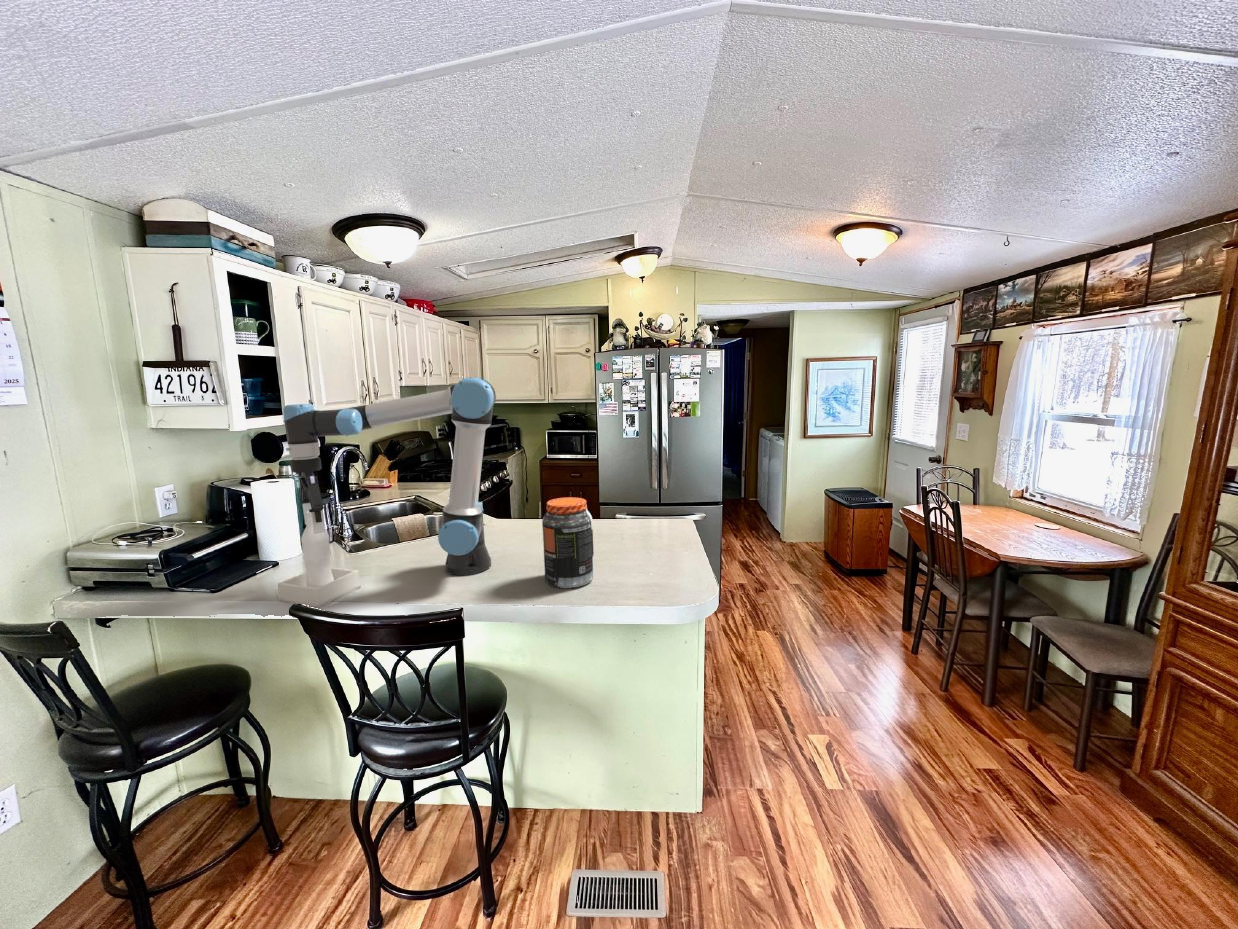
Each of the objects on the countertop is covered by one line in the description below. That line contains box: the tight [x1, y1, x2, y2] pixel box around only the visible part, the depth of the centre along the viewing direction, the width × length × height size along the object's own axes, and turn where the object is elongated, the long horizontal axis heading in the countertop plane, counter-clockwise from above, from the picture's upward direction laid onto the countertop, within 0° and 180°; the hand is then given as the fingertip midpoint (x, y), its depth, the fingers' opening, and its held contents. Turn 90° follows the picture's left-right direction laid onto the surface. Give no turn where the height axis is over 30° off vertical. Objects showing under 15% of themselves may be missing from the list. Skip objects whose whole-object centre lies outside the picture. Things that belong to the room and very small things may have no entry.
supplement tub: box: [541, 496, 595, 589], centre depth 158 cm, size 16×16×26 cm
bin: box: [277, 566, 361, 609], centre depth 151 cm, size 15×15×6 cm
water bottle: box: [300, 511, 334, 588], centre depth 150 cm, size 7×7×25 cm
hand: (315, 528), depth 149 cm, fingers open, 13 cm apart
